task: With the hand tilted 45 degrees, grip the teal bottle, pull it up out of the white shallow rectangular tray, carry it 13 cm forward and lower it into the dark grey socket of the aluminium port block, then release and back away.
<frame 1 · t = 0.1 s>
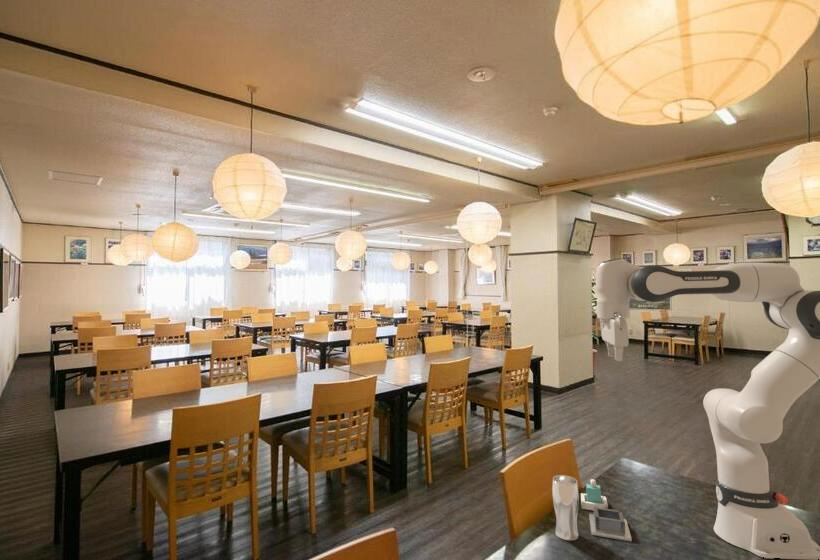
hand: (615, 358, 122), 48 cm above the table, tool pointing down, fingers open, 8 cm apart
beer glass: (566, 535, 114), on the table
teal bottle: (593, 493, 130), in the white shallow rectangular tray
white shallow rectangular tray: (594, 505, 130), on the table
port: (609, 528, 117), on the table
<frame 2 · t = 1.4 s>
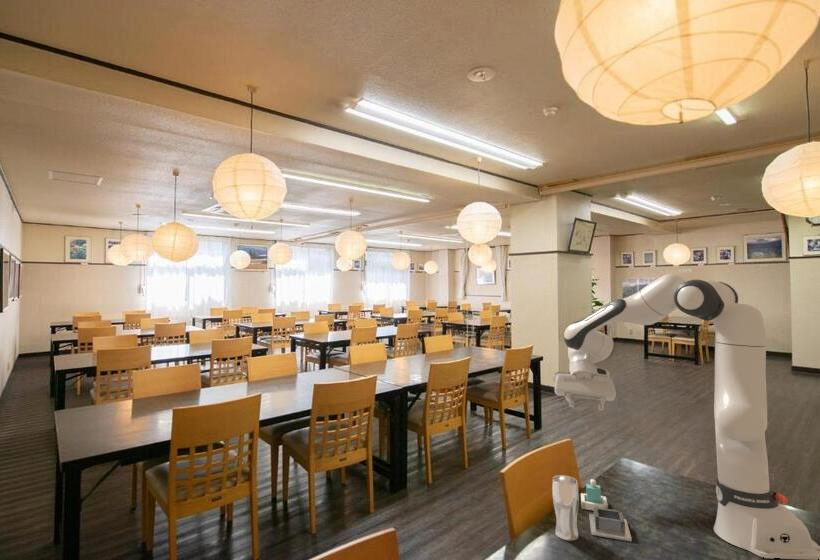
hand: (586, 408, 141), 28 cm above the table, tool tilted 45°, fingers open, 8 cm apart
nothing on the table moved.
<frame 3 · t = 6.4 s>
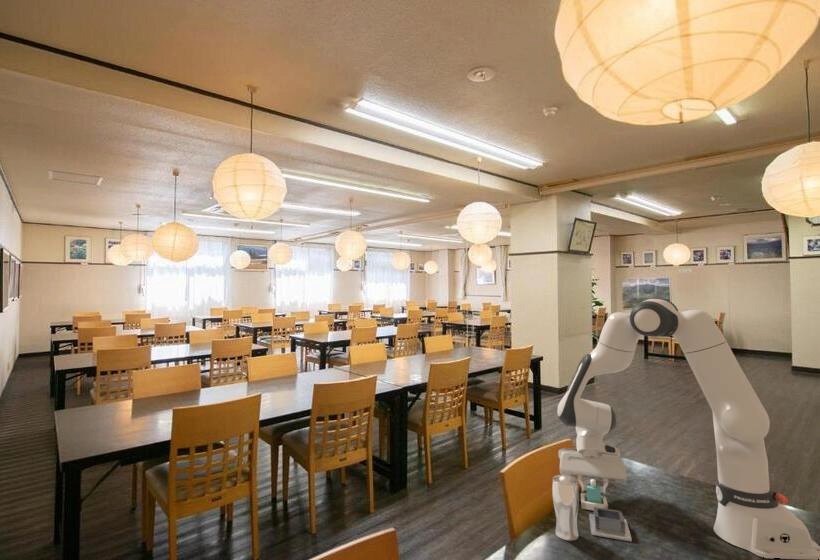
hand: (593, 492, 129), 4 cm above the table, tool tilted 45°, fingers closed on teal bottle, 4 cm apart
teal bottle: (593, 493, 130), in the white shallow rectangular tray, touching gripper
everything else where it was.
when the fingers open (6 cm above the table, at t = 12.4 s): teal bottle stays where it is, resting on port.
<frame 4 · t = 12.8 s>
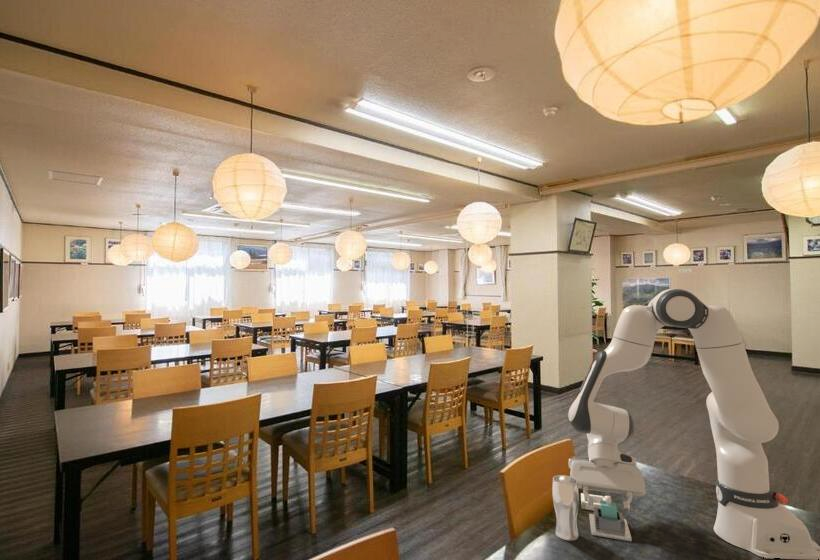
hand: (608, 506, 116), 6 cm above the table, tool tilted 45°, fingers open, 8 cm apart
teal bottle: (608, 510, 117), in the port, point 5 cm above the table
everything else where it was.
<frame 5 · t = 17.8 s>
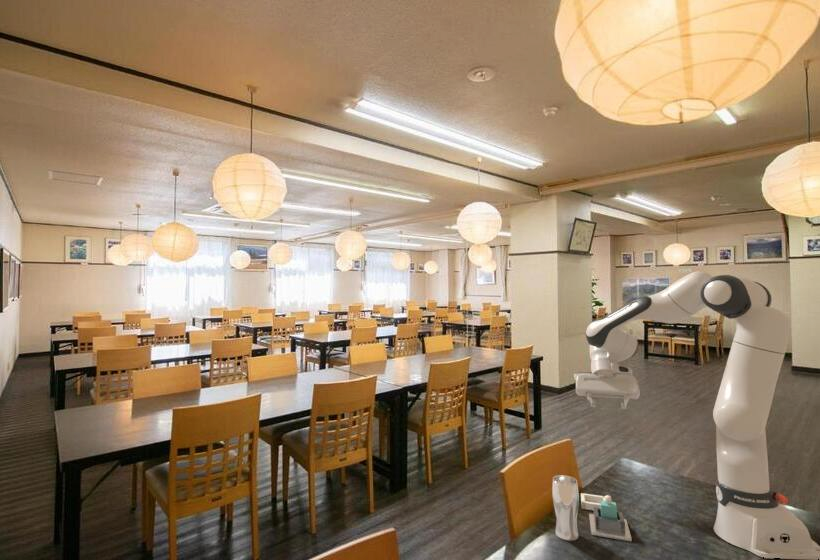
hand: (608, 406, 138), 29 cm above the table, tool tilted 45°, fingers open, 8 cm apart
nothing on the table moved.
at the end: teal bottle 0.0 cm off-centre on the port, point 5.0 cm above the port's base; teal bottle tilted 0°; the gripper is holding nothing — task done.
